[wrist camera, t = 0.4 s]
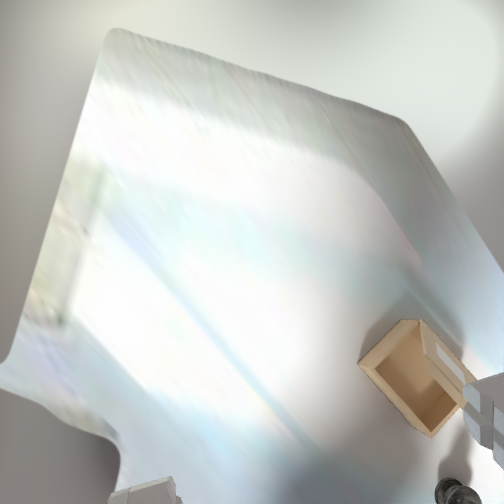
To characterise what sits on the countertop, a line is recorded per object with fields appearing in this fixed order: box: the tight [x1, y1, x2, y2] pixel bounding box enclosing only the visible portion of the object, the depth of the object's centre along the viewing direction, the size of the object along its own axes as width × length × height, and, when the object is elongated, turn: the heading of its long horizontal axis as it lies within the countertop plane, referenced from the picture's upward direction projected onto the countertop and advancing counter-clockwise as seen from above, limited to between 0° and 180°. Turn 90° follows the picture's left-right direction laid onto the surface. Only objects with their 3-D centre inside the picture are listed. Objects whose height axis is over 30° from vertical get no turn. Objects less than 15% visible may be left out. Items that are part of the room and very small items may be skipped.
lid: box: [419, 318, 477, 410], centre depth 53 cm, size 14×12×1 cm
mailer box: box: [357, 319, 460, 438], centre depth 60 cm, size 14×11×5 cm
